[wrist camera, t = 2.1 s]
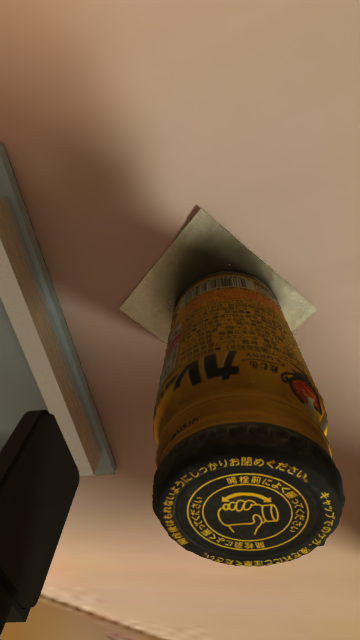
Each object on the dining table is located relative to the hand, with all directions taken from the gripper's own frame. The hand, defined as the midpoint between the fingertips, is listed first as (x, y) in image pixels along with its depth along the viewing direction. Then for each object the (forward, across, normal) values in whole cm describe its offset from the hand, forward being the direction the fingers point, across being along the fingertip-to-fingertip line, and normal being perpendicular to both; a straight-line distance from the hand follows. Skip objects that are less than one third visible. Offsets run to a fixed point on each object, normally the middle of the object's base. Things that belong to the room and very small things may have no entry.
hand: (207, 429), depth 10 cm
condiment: (+10, -1, +1) cm, 10 cm away
